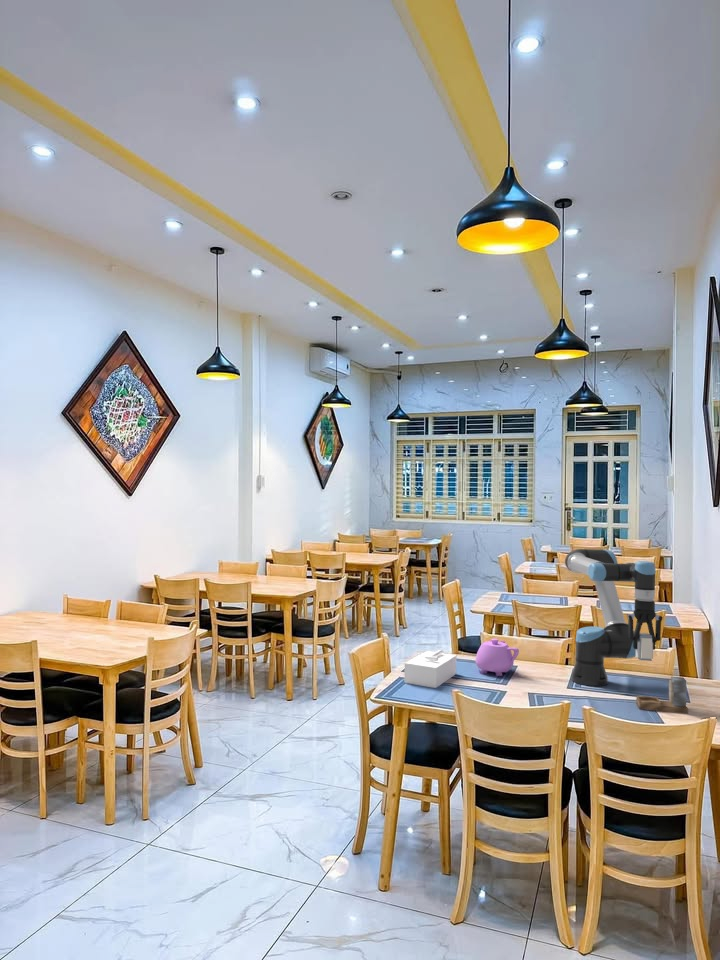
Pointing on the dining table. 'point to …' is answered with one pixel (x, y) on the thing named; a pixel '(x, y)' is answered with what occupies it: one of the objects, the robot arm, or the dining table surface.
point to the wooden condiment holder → (675, 698)
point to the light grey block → (645, 646)
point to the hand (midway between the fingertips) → (644, 657)
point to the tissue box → (430, 669)
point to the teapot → (495, 657)
